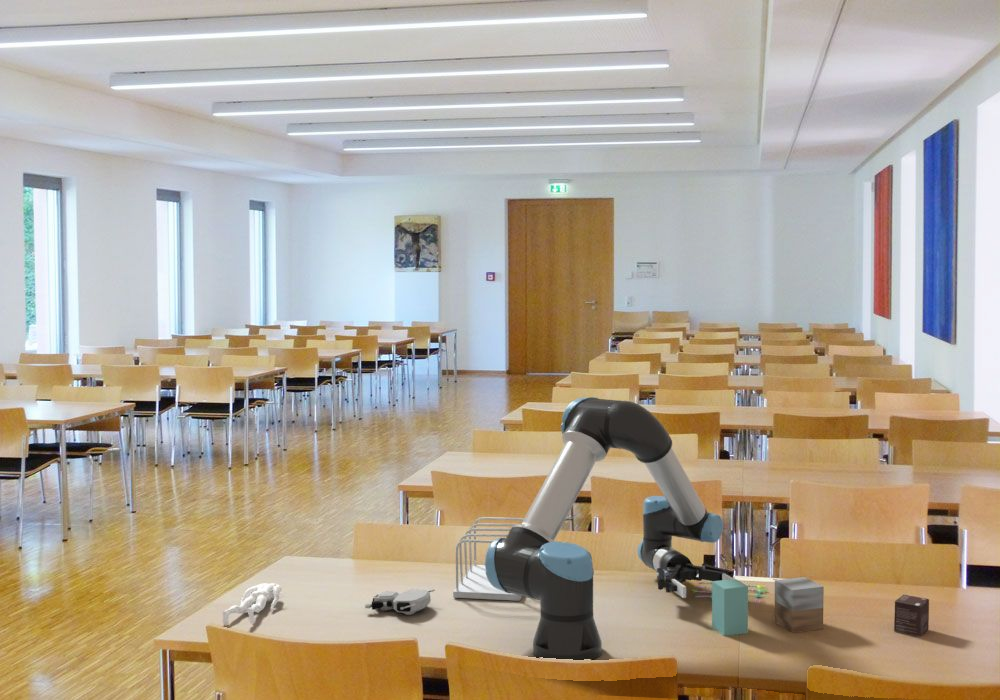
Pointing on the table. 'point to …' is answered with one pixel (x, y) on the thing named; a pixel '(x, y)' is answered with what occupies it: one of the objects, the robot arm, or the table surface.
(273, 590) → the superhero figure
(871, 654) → the table surface
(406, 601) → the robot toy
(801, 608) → the grey wood-grain cube
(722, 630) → the teal brick
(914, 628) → the box
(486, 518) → the file sorter
